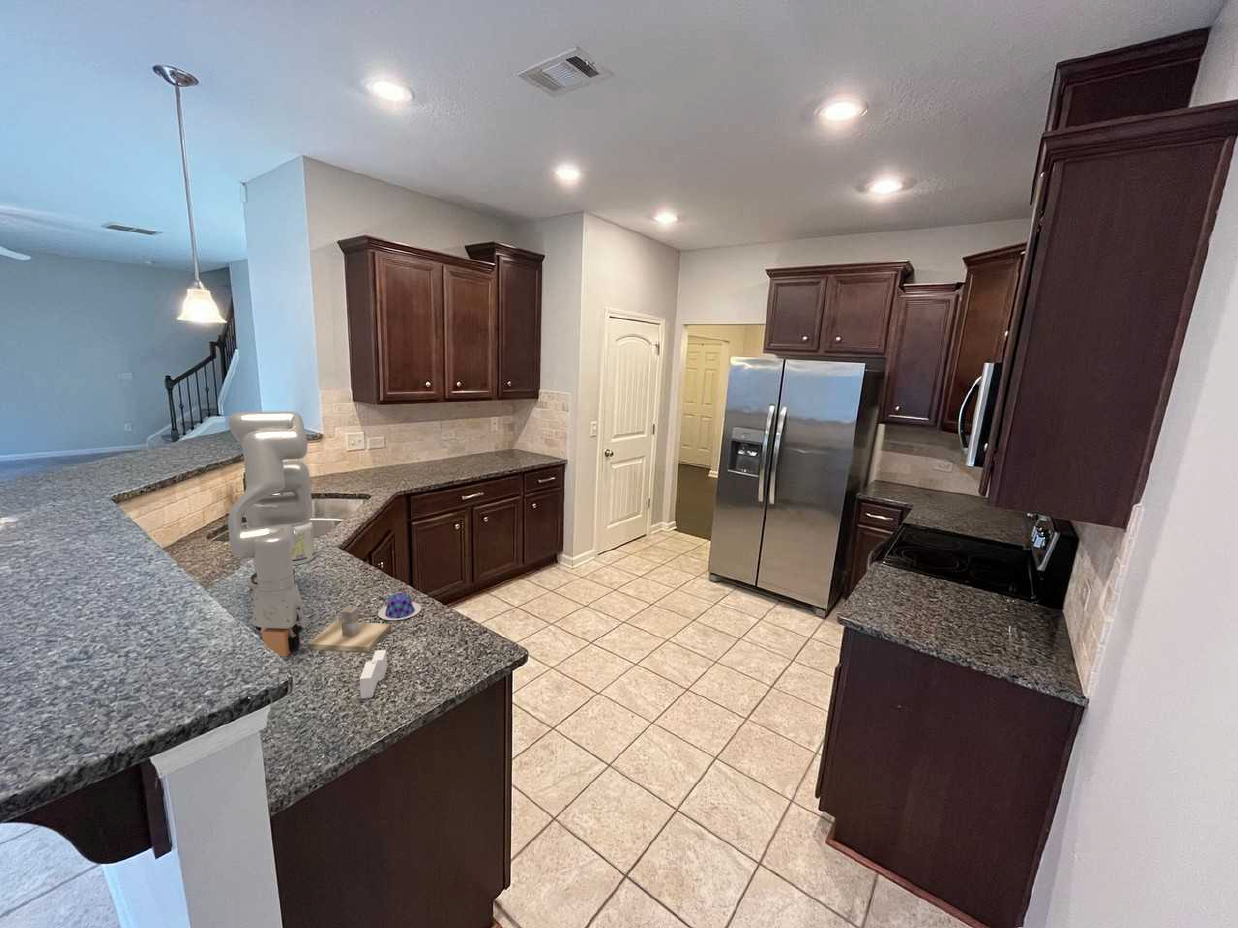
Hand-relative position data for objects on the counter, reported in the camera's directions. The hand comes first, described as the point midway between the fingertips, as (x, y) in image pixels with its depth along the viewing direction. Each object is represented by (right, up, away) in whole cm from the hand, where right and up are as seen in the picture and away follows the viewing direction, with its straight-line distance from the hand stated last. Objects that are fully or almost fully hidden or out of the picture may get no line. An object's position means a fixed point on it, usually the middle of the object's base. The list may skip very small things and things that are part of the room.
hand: (282, 647), depth 130 cm
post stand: (+14, 0, +7) cm, 16 cm away
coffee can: (-12, +2, +15) cm, 19 cm away
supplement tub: (-33, +11, +58) cm, 68 cm away
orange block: (0, -1, 0) cm, 1 cm away
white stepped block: (+30, -5, -11) cm, 32 cm away
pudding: (+21, +2, +22) cm, 31 cm away
